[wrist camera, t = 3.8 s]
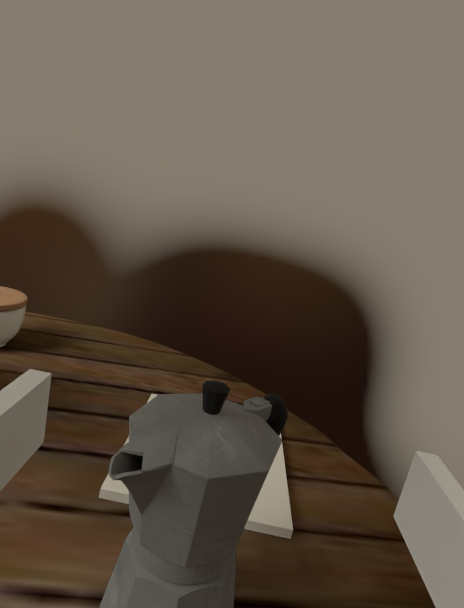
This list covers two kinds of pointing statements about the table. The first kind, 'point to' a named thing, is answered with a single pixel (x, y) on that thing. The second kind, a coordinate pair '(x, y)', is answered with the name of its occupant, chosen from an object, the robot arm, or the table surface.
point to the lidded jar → (11, 313)
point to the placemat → (267, 509)
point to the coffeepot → (190, 495)
